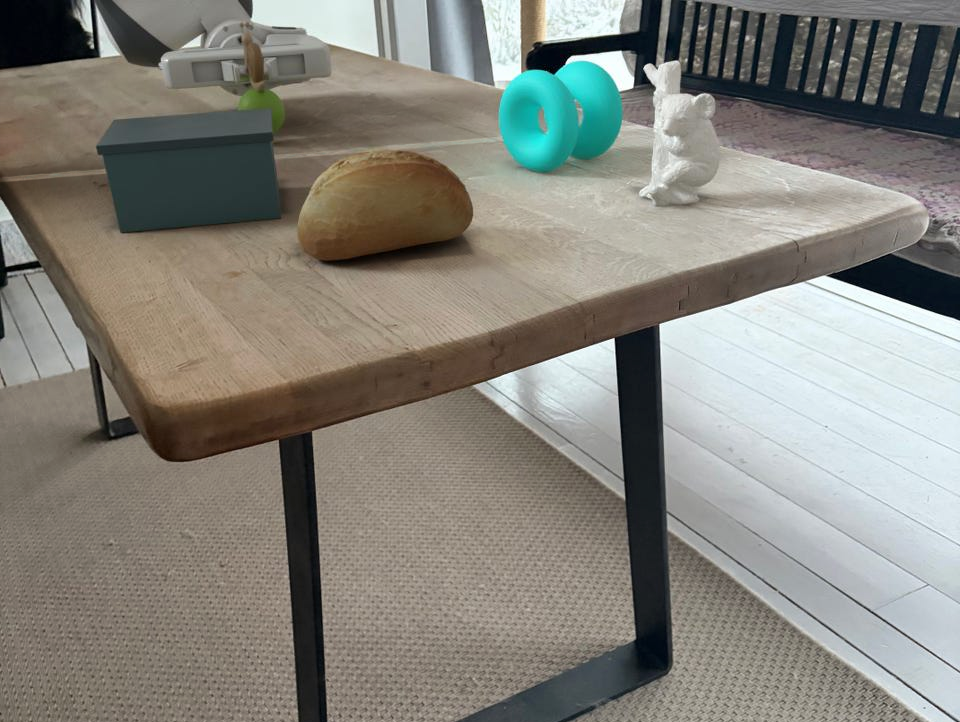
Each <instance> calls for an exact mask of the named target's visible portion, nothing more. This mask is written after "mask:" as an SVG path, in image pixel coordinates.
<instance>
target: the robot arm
mask: <svg viewBox="0 0 960 722" xmlns="http://www.w3.org/2000/svg"><path fill="white" fill-rule="evenodd" d="M93 2H94V4H95V7H96V10H97V13H98V16H99V20H100V21H101V25H102V27H103V29H104V32H105V35H106V36H107V38H108V40H109V42H110V43H111V45H112V47H113V48H114V49H115V50H116V52H117V53H118V54H119V55H120V56H121V57H122V58H123V59H124V60H126V62H127V63H129V64H131V65H134V66H140V67H144V68H158V70H159V72H161V73H162V75H163V80H164V81H163V82H164V86H165V87H166V88H167V89H169V90H184V89H185V90H186V89H198V88H209V87H220V88H221V89H223V90H224V91H226V92H227V93H229V94H231V95H234V96H238V97H242V96H243V95H244V94H245V93H246V92H247V91H249V90H251V89H253V86H252V84H251V82H250V80H249V77H248V70H247V66H246V63H245V58H244V48H243V43H242V40H241V39H242V30H243V34H245V33H248V31H249V34H250V35H251V36H252V39H253V43H256V44H258V45H259V47H260V49H261V52H262V56H263V63H264V81H263V82H264V84H265V88H266V89H269V90H273V89H275V88H277V87H281V86H288V85H293V84H300V83H304V82H310V81H311V80H312V79H325V78H329V77H331V76H332V60H331V59H332V58H331V52H330V47H329V45H327V43H325V42H324V41H323V40H322V39H320V38H318V37H316V36H313V35H311V34H310V35H309V34H308V32H307V29H306V28H303V27H296V26H276V25H272V26H270V25H265V24H262V23H258V22H253V20H252V18H253V12H254V1H253V0H93ZM241 22H242V23H243V24H244V27H243V28H241V27H240V26H239V24H240V23H241ZM246 22H248V23H249V24H250V26H249V27H248V29H247V27H246V26H245V23H246ZM198 37H200V42H199V44H200V45H199V47H200V48H187V49H181V48H183V47H185V46H187V45H188V44H189V43H191V42H193V40H195V39H197V38H198Z"/></svg>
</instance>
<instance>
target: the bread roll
mask: <svg viewBox="0 0 960 722" xmlns="http://www.w3.org/2000/svg"><path fill="white" fill-rule="evenodd" d="M473 218H474V207H473V202H472V200H471V196H470V194H469V192H468V190H467V188H466V185H465V184H464V183H463V182H462V181H461V179H460V177H459V176H458V175H457V174H456V173H454V171H452V170H451V169H450V168H449V167H448V166H447V165H446V164H444V163H442V162H440V161H439V160H437V159H436V158H433V157H430V156H427V155H424V154H421V153H417V152H414V151H409V150H399V149H379V150H371V151H365V152H361V153H356V154H354V155H351V156H348V157H345V158H343V159H340V160H339V161H336V162H334V163H333V164H331V165H330V166H329V167H328V168H327V169H325V170H324V171H323V172H321V174H320V175H319V176H318V177H317V179H315V181H314V183H313V185H312V186H311V187H310V190H309V192H308V195H307V197H306V199H305V201H304V203H303V205H302V207H301V210H300V212H299V215H298V221H297V224H296V229H297V232H296V234H297V241H298V244H299V245H300V246H301V251H302V252H304V253H305V254H307V255H308V256H310V257H311V258H313V259H316V260H318V261H319V260H320V261H338V260H349V259H353V258H357V257H362V256H369V255H373V254H378V253H384V252H390V251H394V250H400V249H404V248H409V247H414V246H418V245H424V244H429V243H430V244H431V243H436V242H437V243H439V242H444V241H449V240H452V239H455V238H457V237H459V236H462V234H463V233H465V231H467V229H468V228H470V225H471V223H472V222H473Z"/></svg>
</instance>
